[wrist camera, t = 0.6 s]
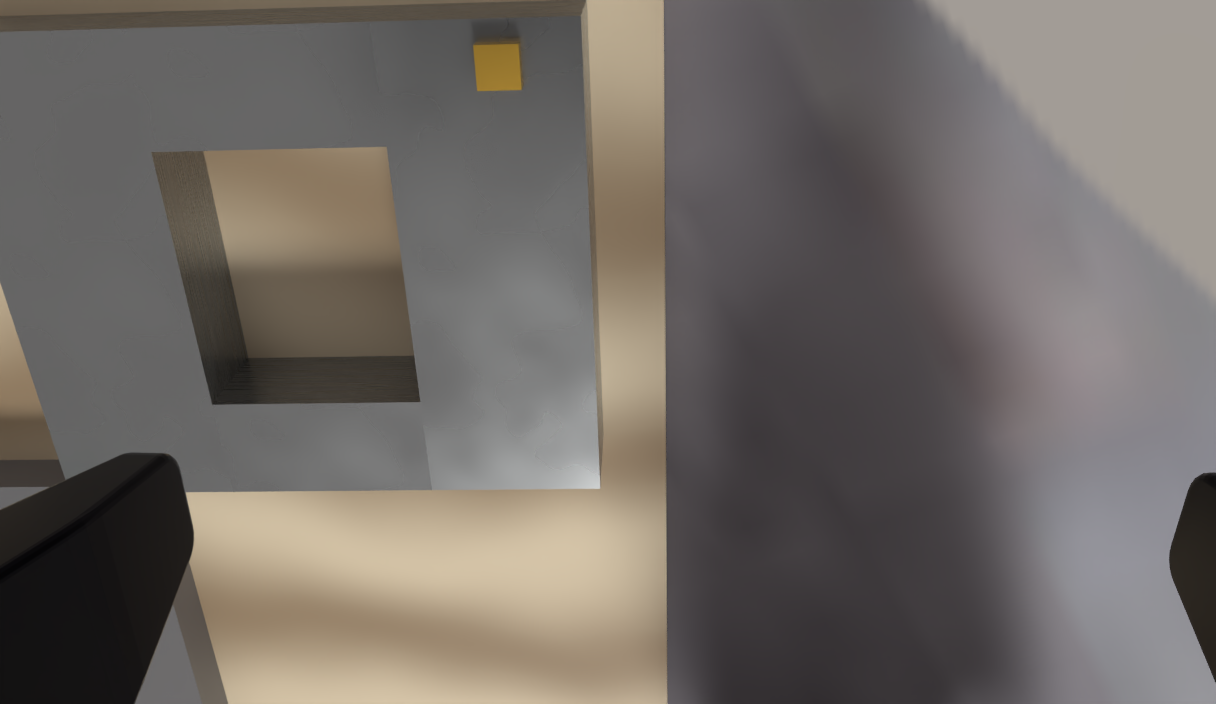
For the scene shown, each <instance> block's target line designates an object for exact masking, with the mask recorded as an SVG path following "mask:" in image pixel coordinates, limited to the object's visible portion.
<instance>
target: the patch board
mask: <svg viewBox="0 0 1216 704" xmlns="http://www.w3.org/2000/svg"><path fill="white" fill-rule="evenodd" d="M515 1H550V0H0V16H23V15H58V14H93V13H128V12H163V11H198V10H234V9H269V8H304V7H339V6H374V5H409V4H445V3H480V2H515ZM587 14H588V40H589V67H590V93H591V119H592V145H593V172H594V198H595V224H596V251H597V277H598V303H599V329H600V356H601V382H602V408H603V434H604V438H603V454H602V469H601V485H600V489H504V490H390V491H275V492H186V496H187V501H188V505H189V510H190V514H191V519H192V523H193V529H194V546H193V551H192V555H191V558H190V561H189V563H190V567H191V570H192V574H193V578H194V581H195V585H196V589H197V592H198V596H199V599H200V603H201V607H202V610H203V614H204V617H205V621H206V625H207V628H208V632H209V636H210V639H211V643H212V646H213V650H214V654H215V657H216V661H217V665H218V668H219V672H220V675H221V679H222V683H223V686H224V690H225V694H226V697H227V701H228V704H667V553H666V355H665V157H664V0H587ZM204 156H205V160H206V165H207V169H208V174H209V179H210V183H211V188H212V193H213V197H214V202H215V206H216V211H217V216H218V220H219V225H220V229H221V234H222V239H223V243H224V248H225V252H226V257H227V262H228V266H229V271H230V275H231V280H232V285H233V289H234V294H235V298H236V303H237V308H238V312H239V317H240V321H241V326H242V331H243V335H244V340H245V344H246V349H247V354H248V358H287V357H357V356H414V350H413V343H412V335H411V328H410V320H409V313H408V305H407V298H406V290H405V282H404V275H403V267H402V260H401V252H400V245H399V237H398V230H397V222H396V215H395V207H394V200H393V192H392V185H391V177H390V169H389V162H388V154H387V147H357V148H313V149H269V150H224V151H204ZM0 460H59V459H58V456H57V453H56V450H55V447H54V444H53V441H52V438H51V435H50V432H49V429H48V426H47V423H46V420H45V417H44V414H43V411H42V407H41V404H40V401H39V398H38V395H37V392H36V389H35V386H34V383H33V380H32V377H31V374H30V371H29V368H28V365H27V362H26V359H25V356H24V353H23V350H22V347H21V344H20V341H19V338H18V335H17V332H16V329H15V326H14V323H13V320H12V317H11V314H10V311H9V308H8V305H7V302H6V299H5V296H4V293H3V290H2V287H1V284H0Z"/></svg>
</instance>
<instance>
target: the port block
mask: <svg viewBox="0 0 1216 704" xmlns="http://www.w3.org/2000/svg"><path fill="white" fill-rule="evenodd" d="M357 147H387V154H388V162H389V169H390V177H391V185H392V192H393V200H394V207H395V215H396V222H397V230H398V237H399V245H400V252H401V260H402V267H403V275H404V282H405V290H406V298H407V305H408V313H409V320H410V328H411V335H412V343H413V350H414V356H357V357H287V358H248V354H247V349H246V344H245V340H244V335H243V331H242V326H241V321H240V317H239V312H238V308H237V303H236V298H235V294H234V289H233V285H232V280H231V275H230V271H229V266H228V262H227V257H226V252H225V248H224V243H223V239H222V234H221V229H220V225H219V220H218V216H217V211H216V206H215V202H214V197H213V193H212V188H211V183H210V179H209V174H208V169H207V165H206V160H205V156H204V151H224V150H269V149H313V148H357ZM0 284H1V287H2V290H3V293H4V296H5V299H6V302H7V305H8V308H9V311H10V314H11V317H12V320H13V323H14V326H15V329H16V332H17V335H18V338H19V341H20V344H21V347H22V350H23V353H24V356H25V359H26V362H27V365H28V368H29V371H30V374H31V377H32V380H33V383H34V386H35V389H36V392H37V395H38V398H39V401H40V404H41V407H42V411H43V414H44V417H45V420H46V423H47V426H48V429H49V432H50V435H51V438H52V441H53V444H54V447H55V450H56V453H57V456H58V459H59V462H60V465H61V468H62V471H63V474H64V477H65V480H66V479H68V478H70V477H73V476H75V475H77V474H79V473H81V472H84V471H86V470H88V469H90V468H92V467H95V466H97V465H99V464H101V463H103V462H106V461H108V460H110V459H112V458H114V457H117V456H119V455H121V454H124V453H130V452H137V453H166V454H169V455H171V456H172V457H173V458H175V459H176V461H177V463H178V464H179V467H180V470H181V474H182V478H183V483H184V487H185V492H275V491H390V490H504V489H600V485H601V469H602V454H603V438H604V434H603V408H602V382H601V356H600V329H599V303H598V277H597V251H596V224H595V198H594V172H593V145H592V119H591V93H590V67H589V40H588V14H587V0H550V1H515V2H480V3H445V4H409V5H374V6H339V7H304V8H269V9H234V10H198V11H163V12H128V13H93V14H58V15H23V16H0Z"/></svg>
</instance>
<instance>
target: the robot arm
mask: <svg viewBox="0 0 1216 704" xmlns="http://www.w3.org/2000/svg"><path fill="white" fill-rule="evenodd" d="M193 546H194V529H193V523H192V519H191V514H190V510H189V505H188V501H187V496H186V492H185V487H184V483H183V478H182V474H181V470H180V467H179V464H178V463H177V461H176V459H175V458H173V457H172V456H171V455H169V454H166V453H137V452H130V453H124V454H121V455H119V456H117V457H114V458H112V459H110V460H108V461H106V462H103V463H101V464H99V465H97V466H95V467H92V468H90V469H88V470H86V471H84V472H81V473H79V474H77V475H75V476H73V477H70V478H68V479H66V480H64V481H62V482H59V483H57V484H55V485H53V486H51V487H48V488H46V489H44V490H42V491H40V492H37V493H35V494H33V495H31V496H29V497H26V498H24V499H22V500H20V501H18V502H15V503H13V504H11V505H9V506H7V507H4V508H2V509H0V704H135V702H136V700H137V697H138V695H139V692H140V690H141V688H142V685H143V683H144V680H145V678H146V675H147V673H148V670H149V667H150V665H151V662H152V659H153V657H154V654H155V651H156V649H157V646H158V643H159V641H160V638H161V635H162V633H163V630H164V628H165V625H166V622H167V620H168V617H169V614H170V612H171V609H172V606H173V604H174V601H175V598H176V596H177V593H178V590H179V588H180V585H181V582H182V580H183V577H184V574H185V572H186V569H187V566H188V564H189V561H190V558H191V555H192V551H193ZM1169 563H1170V570H1171V575H1172V578H1173V581H1174V584H1175V586H1176V588H1177V591H1178V593H1179V596H1180V598H1181V600H1182V603H1183V605H1184V608H1185V610H1186V612H1187V615H1188V617H1189V620H1190V622H1191V624H1192V627H1193V629H1194V632H1195V634H1196V636H1197V639H1198V641H1199V644H1200V646H1201V649H1202V651H1203V653H1204V656H1205V658H1206V661H1207V663H1208V665H1209V668H1210V670H1211V673H1212V675H1213V677H1214V680H1215V682H1216V473H1203V474H1201V475H1200V476H1198V477H1196V478H1195V479H1194V480H1193V482H1192V483H1191V485H1190V487H1189V490H1188V492H1187V496H1186V499H1185V502H1184V505H1183V509H1182V512H1181V515H1180V519H1179V522H1178V525H1177V528H1176V532H1175V535H1174V538H1173V541H1172V545H1171V549H1170V556H1169Z"/></svg>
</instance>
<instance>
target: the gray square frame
mask: <svg viewBox="0 0 1216 704" xmlns="http://www.w3.org/2000/svg"><path fill="white" fill-rule="evenodd" d="M64 480H65V477H64V474H63V471H62V468H61V465H60V462H59V460H0V509H2V508H4V507H7V506H9V505H11V504H13V503H15V502H18V501H20V500H22V499H24V498H26V497H29V496H31V495H33V494H35V493H37V492H40V491H42V490H44V489H46V488H48V487H51V486H53V485H55V484H57V483H59V482H62V481H64ZM135 704H228V701H227V697H226V694H225V690H224V686H223V683H222V679H221V675H220V672H219V668H218V665H217V661H216V657H215V654H214V650H213V646H212V643H211V639H210V636H209V632H208V628H207V625H206V621H205V617H204V614H203V610H202V607H201V603H200V599H199V596H198V592H197V589H196V585H195V581H194V578H193V574H192V570H191V567H190V563H189V564H188V566H187V569H186V572H185V574H184V577H183V580H182V582H181V585H180V588H179V590H178V593H177V596H176V598H175V601H174V604H173V606H172V609H171V612H170V614H169V617H168V620H167V622H166V625H165V628H164V630H163V633H162V635H161V638H160V641H159V643H158V646H157V649H156V651H155V654H154V657H153V659H152V662H151V665H150V667H149V670H148V673H147V675H146V678H145V680H144V683H143V685H142V688H141V690H140V692H139V695H138V697H137V700H136V702H135Z"/></svg>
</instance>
